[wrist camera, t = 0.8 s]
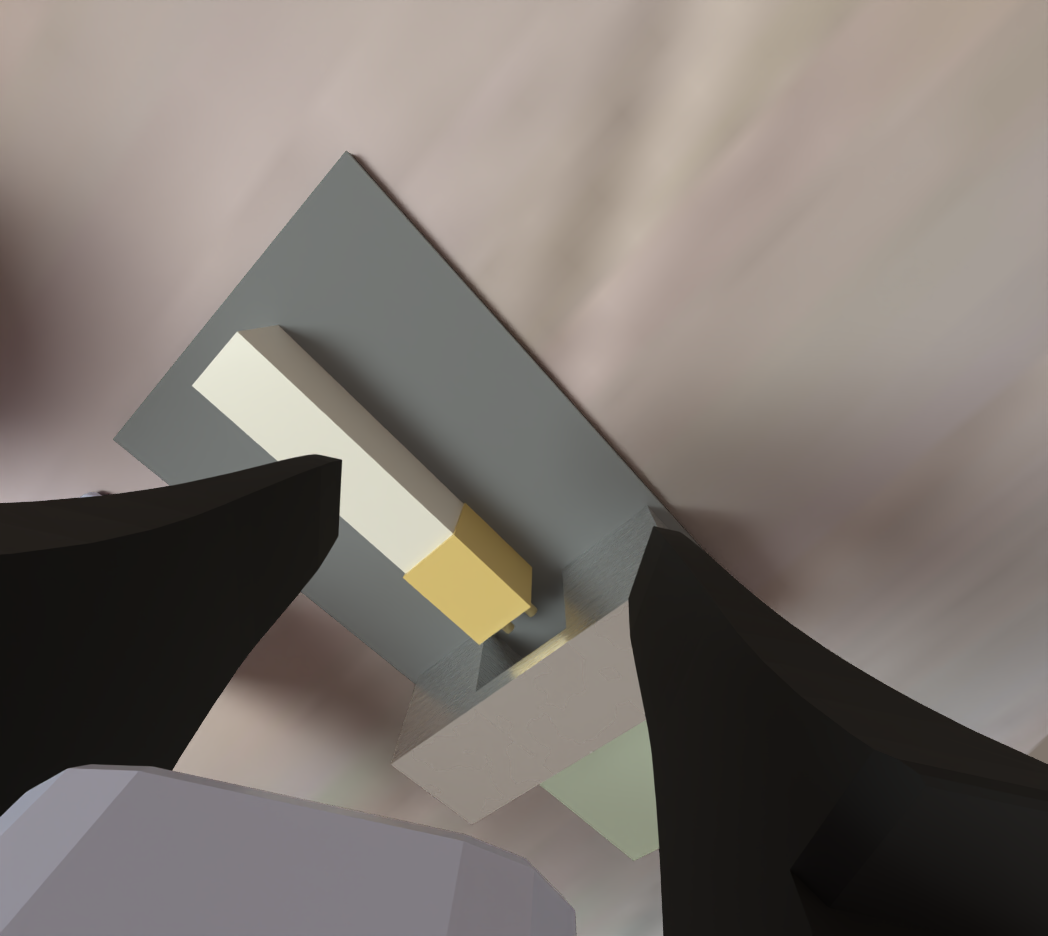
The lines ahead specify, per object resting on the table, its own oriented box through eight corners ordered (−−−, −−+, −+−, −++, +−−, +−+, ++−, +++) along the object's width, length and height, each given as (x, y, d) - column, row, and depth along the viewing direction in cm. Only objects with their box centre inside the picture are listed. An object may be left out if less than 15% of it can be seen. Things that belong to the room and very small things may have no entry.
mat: (120, 436, 22) (112, 439, 21) (350, 153, 17) (345, 150, 17) (632, 854, 31) (633, 861, 30) (866, 733, 26) (871, 739, 26)
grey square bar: (418, 676, 26) (390, 764, 21) (647, 505, 22) (676, 566, 17) (484, 730, 27) (471, 824, 22) (712, 577, 23) (756, 653, 18)
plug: (236, 374, 20) (186, 388, 17) (279, 323, 19) (235, 329, 16) (500, 614, 24) (495, 658, 21) (546, 580, 23) (546, 621, 20)
